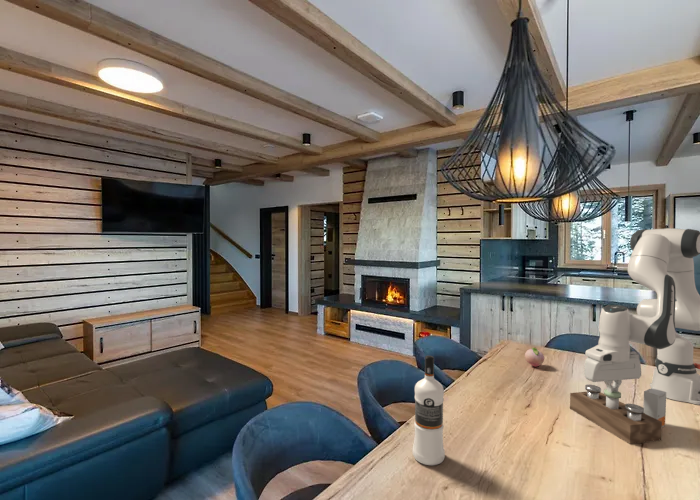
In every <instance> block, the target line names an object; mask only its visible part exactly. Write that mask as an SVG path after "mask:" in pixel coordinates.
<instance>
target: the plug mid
mask: <svg viewBox="0 0 700 500" xmlns="http://www.w3.org/2000/svg"><path fill="white" fill-rule="evenodd" d="M603 394H605V395H606V407H608V408H610V409H612V410H614V409H619V401H620V399H621V398H622V393H621V392H620V391H619V390H618V392H614V393H610V392H608V391H607V388H605V389H604V390H603Z"/></svg>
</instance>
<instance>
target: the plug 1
mask: <svg viewBox="0 0 700 500" xmlns="http://www.w3.org/2000/svg"><path fill="white" fill-rule="evenodd" d="M584 387H585V389H584V390H585V391H586V392H587V397H589V398H591V399H599V393H602V388H601V387H600V386H599V385H595V384H585V386H584Z"/></svg>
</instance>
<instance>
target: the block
mask: <svg viewBox="0 0 700 500" xmlns="http://www.w3.org/2000/svg"><path fill="white" fill-rule="evenodd" d="M569 395H570V396H569V403H570V404H569V409H570V410H572V411H573V412H575V413H576V414H579V415H580V416H582V417H583V418H585V419H587V420H588V421H590V422H592V423H594V424H595V425H597V426H598V427H600V428H601V429H604V430H605V431H607V432H609V433H610V434H612V435H614V436H616V437H617V438H619V439H621V440H622V441H624V442H626V443H627V444H629V445H633V444H641V443H642V444H643V443H650V442H657V441H658V442H659V441H662V430H663V427H662V422H661V421H659V420H657V419H655V418H653V417H651V416H649V415H647V414H645V413H643V414H641V421H633V420H631V419H629V418H628V417H627V410H626V409H625V404H626V403H624V402H622V401H621V400H619V409H614V410H612V409H610V408H608V407H606V395H605V394H604V392H601V393H599V399H591V398H589V397H587V391H578V392H570V393H569Z"/></svg>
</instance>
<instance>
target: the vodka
mask: <svg viewBox="0 0 700 500" xmlns="http://www.w3.org/2000/svg"><path fill="white" fill-rule="evenodd" d="M434 365H435V357H434V356H432V355H426V356H425V357H424V378H422V379H420V380H418V381H417V382H416V383H415V384H414V401H415V402H414V403H415V404H414V423H413V424H414V438H413V445H412V456H413V457H414V459H415V461H417V462H418V463H421V464H422V465H425V466H438V465H439V464H442V463H443V461H444V460H445V458H446V456H445V455H446V454H445V453H446V452H445V447H444V439H443V437H444V434H443V433H444V401H445V400H444V396H445V395H444V394H445V390H444V387H443V385H442V384H441V382H439V381H438V380H436V379H435V373H434V372H435V366H434Z"/></svg>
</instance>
